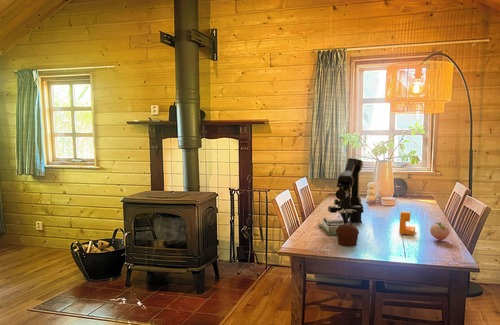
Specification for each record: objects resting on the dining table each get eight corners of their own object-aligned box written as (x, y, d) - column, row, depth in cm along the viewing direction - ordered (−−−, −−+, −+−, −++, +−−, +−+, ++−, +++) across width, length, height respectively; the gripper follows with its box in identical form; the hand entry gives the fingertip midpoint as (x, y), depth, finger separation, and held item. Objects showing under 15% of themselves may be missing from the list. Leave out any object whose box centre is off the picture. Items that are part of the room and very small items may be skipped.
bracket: (413, 236, 204) (414, 214, 203) (399, 234, 207) (399, 213, 206) (415, 231, 213) (415, 210, 212) (401, 229, 217) (402, 209, 216)
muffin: (355, 240, 197) (355, 222, 196) (362, 247, 186) (362, 227, 185) (332, 241, 196) (333, 222, 196) (338, 247, 185) (338, 228, 184)
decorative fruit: (426, 238, 199) (427, 220, 198) (441, 238, 200) (441, 219, 199) (436, 243, 190) (437, 224, 189) (451, 243, 191) (452, 224, 190)
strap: (328, 226, 211) (328, 224, 211) (326, 224, 214) (326, 222, 214) (350, 225, 212) (350, 223, 212) (348, 224, 215) (348, 222, 215)
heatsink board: (344, 224, 230) (344, 215, 229) (357, 235, 207) (357, 225, 207) (319, 225, 229) (319, 216, 228) (329, 235, 206) (329, 225, 206)
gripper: (356, 194, 221) (356, 220, 222) (325, 194, 219) (325, 221, 221) (363, 197, 209) (363, 224, 211) (330, 198, 208) (330, 225, 210)
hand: (345, 223), depth 213 cm, fingers closed
